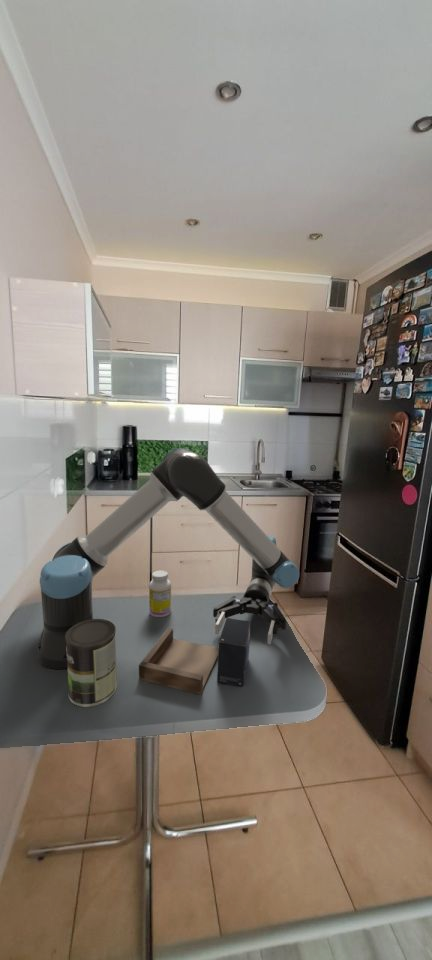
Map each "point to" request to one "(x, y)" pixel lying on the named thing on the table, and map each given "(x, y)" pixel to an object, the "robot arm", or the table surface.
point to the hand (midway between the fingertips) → (242, 634)
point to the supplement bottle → (160, 594)
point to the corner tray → (178, 663)
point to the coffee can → (91, 662)
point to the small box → (233, 652)
